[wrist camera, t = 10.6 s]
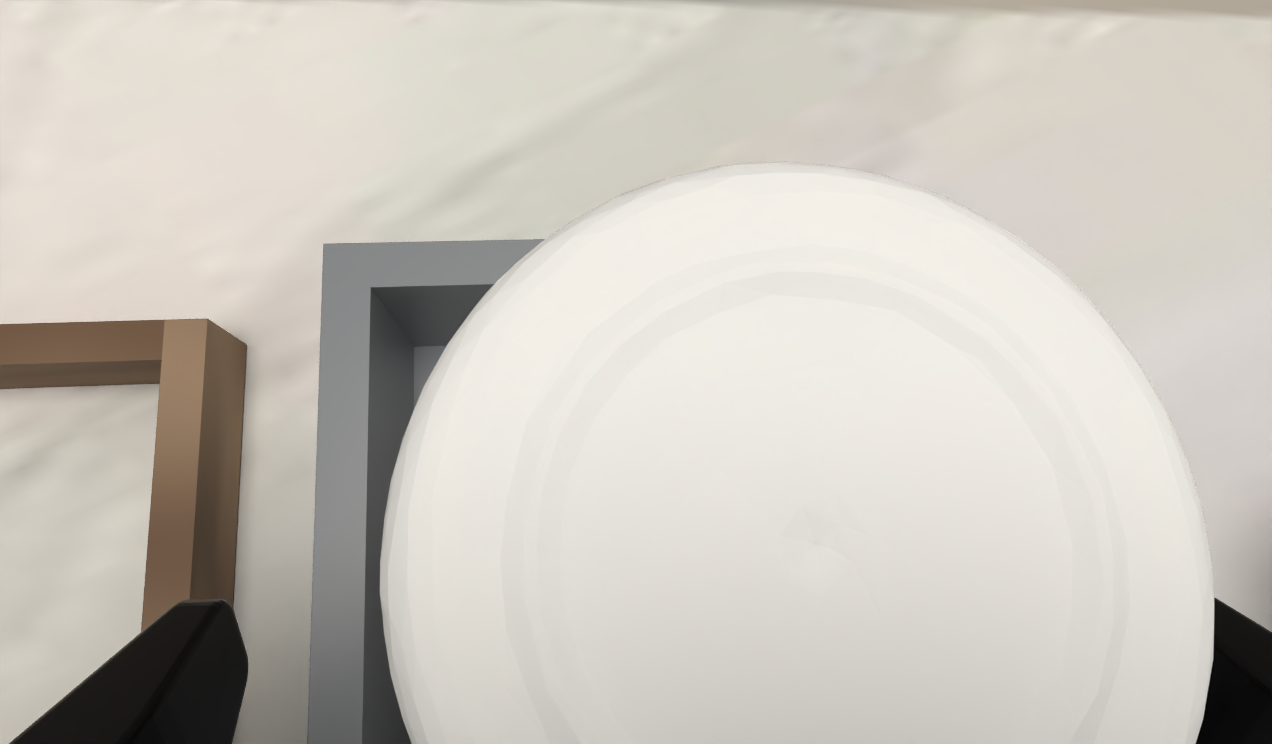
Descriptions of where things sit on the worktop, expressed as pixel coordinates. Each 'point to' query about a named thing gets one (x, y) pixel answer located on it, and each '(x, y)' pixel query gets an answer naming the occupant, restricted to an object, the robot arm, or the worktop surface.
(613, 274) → the sprinkles bottle
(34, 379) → the walnut holder
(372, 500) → the grey bin
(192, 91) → the worktop surface
